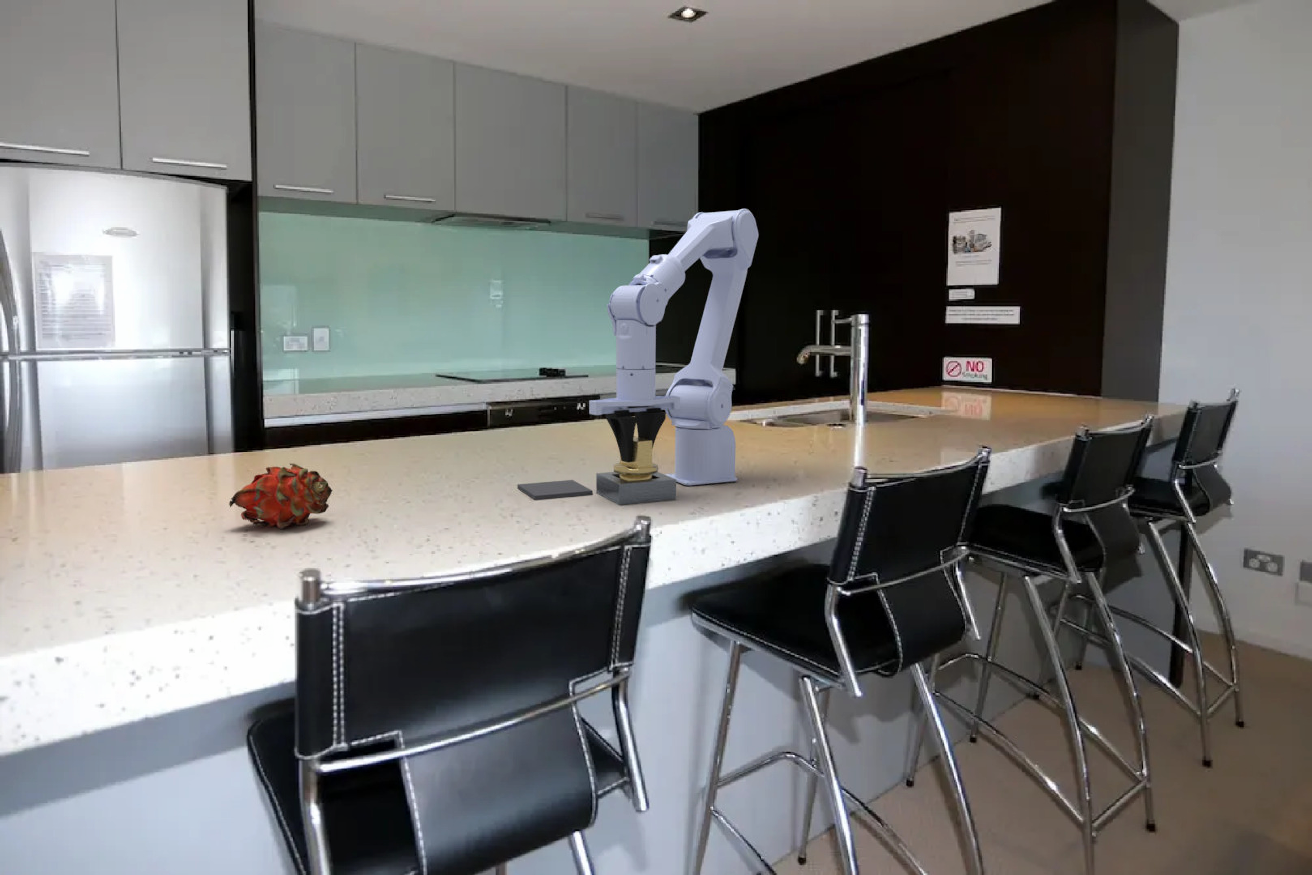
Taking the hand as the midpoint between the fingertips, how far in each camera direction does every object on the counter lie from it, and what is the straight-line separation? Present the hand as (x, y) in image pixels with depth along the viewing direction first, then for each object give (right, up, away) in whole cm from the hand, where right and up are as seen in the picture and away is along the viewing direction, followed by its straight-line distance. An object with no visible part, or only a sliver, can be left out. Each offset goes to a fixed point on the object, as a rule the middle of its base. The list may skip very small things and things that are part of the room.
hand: (635, 460), depth 125 cm
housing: (0, -5, +1) cm, 5 cm away
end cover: (0, -5, +1) cm, 5 cm away
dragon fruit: (-44, -8, -18) cm, 48 cm away
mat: (-12, -5, +4) cm, 14 cm away
